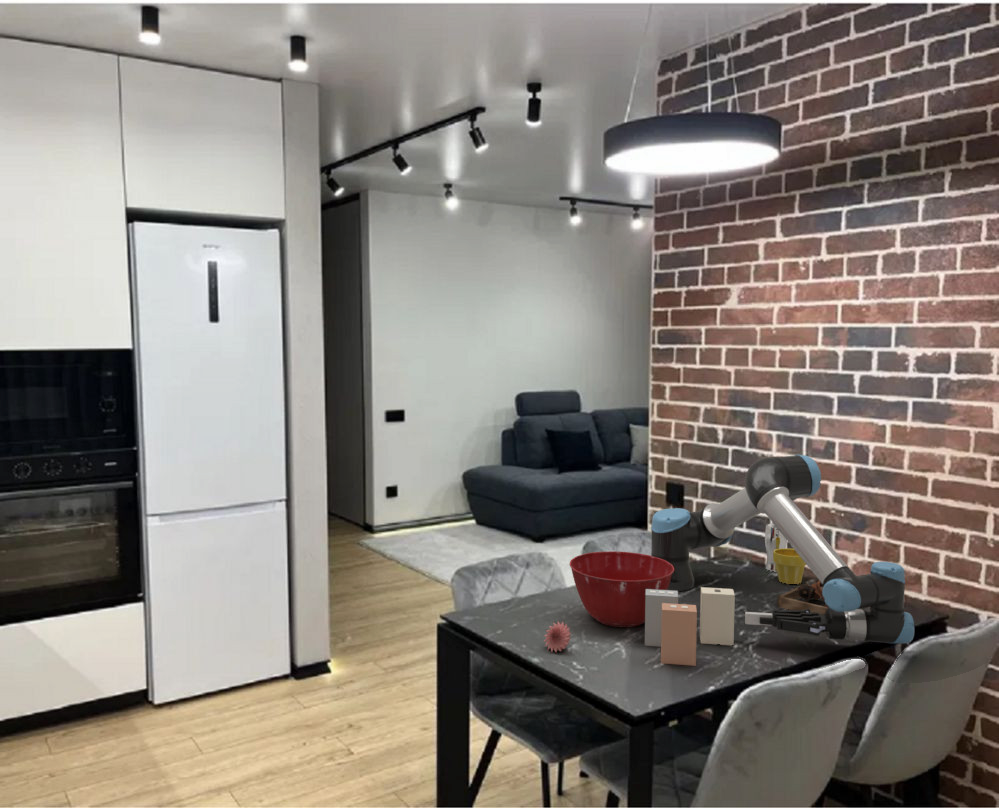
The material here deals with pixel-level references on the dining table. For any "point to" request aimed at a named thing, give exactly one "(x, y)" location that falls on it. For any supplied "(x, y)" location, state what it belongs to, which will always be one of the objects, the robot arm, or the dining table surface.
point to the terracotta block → (678, 634)
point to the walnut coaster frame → (798, 602)
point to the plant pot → (788, 565)
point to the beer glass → (773, 544)
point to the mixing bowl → (618, 584)
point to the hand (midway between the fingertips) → (745, 617)
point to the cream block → (717, 616)
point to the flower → (557, 637)
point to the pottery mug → (811, 592)
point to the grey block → (656, 613)
